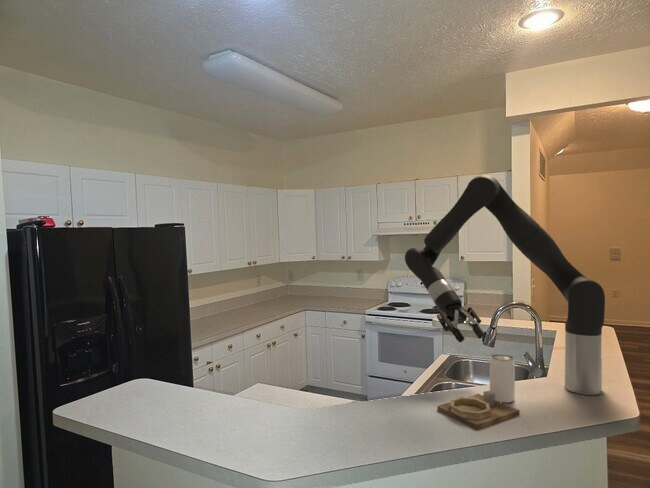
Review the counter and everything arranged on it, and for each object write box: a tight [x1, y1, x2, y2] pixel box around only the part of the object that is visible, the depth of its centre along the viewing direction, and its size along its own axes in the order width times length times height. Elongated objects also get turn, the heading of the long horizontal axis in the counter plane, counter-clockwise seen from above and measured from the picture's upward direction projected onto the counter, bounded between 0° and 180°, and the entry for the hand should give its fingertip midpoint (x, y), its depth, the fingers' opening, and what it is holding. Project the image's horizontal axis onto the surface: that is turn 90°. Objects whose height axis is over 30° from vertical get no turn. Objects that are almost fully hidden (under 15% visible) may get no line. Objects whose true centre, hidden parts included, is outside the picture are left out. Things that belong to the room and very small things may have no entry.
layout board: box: [436, 390, 520, 431], centre depth 111 cm, size 16×13×4 cm
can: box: [489, 353, 516, 404], centre depth 120 cm, size 6×6×12 cm
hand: (472, 339), depth 128 cm, fingers open, 8 cm apart
